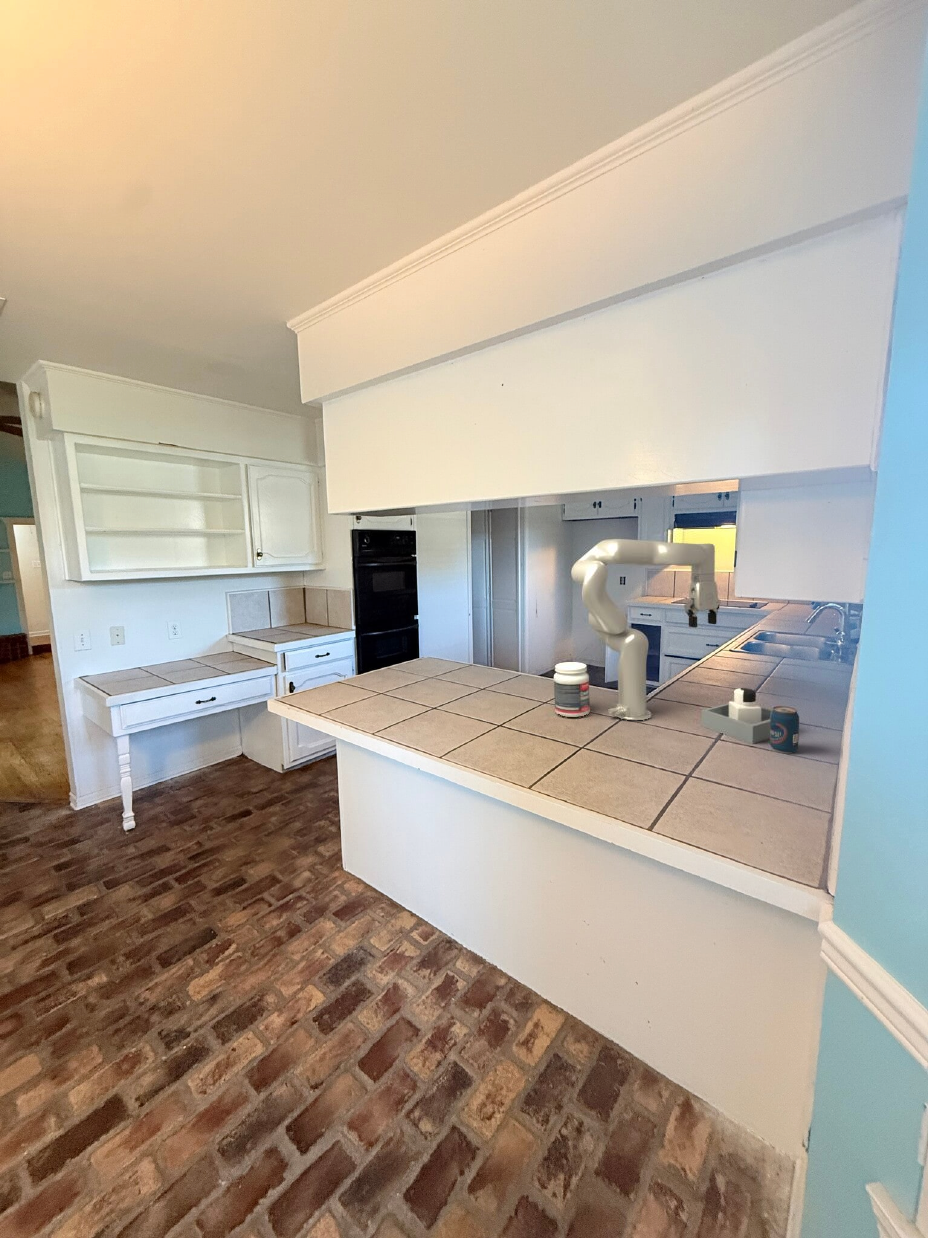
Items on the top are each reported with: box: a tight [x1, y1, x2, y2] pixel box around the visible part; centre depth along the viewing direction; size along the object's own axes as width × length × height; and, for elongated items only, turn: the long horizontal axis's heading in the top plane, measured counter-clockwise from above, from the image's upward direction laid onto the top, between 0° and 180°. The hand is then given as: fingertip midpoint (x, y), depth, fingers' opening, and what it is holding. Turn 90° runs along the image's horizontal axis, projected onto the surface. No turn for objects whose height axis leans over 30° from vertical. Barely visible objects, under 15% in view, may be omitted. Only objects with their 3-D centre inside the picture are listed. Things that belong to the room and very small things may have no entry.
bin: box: [700, 702, 773, 745], centre depth 158 cm, size 18×18×6 cm
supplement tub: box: [553, 661, 591, 717], centre depth 182 cm, size 13×13×18 cm
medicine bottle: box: [728, 687, 762, 724], centre depth 158 cm, size 7×7×12 cm
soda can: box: [769, 705, 800, 754], centre depth 141 cm, size 7×7×12 cm
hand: (702, 625), depth 178 cm, fingers open, 9 cm apart
